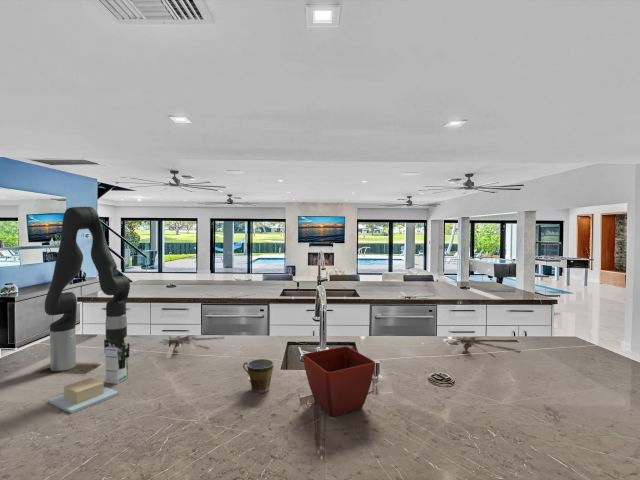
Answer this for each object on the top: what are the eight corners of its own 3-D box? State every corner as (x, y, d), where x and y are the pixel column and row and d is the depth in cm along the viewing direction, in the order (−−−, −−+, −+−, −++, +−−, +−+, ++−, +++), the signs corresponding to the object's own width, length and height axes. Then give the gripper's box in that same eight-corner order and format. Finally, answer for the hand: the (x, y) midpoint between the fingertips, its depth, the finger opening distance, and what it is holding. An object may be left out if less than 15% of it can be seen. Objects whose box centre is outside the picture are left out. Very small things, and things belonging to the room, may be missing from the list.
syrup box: (118, 384, 142) (117, 347, 142) (105, 382, 143) (104, 346, 143) (128, 378, 148) (128, 343, 148) (116, 377, 149) (115, 342, 149)
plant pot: (326, 425, 113) (327, 372, 112) (301, 399, 130) (301, 353, 129) (376, 411, 122) (376, 362, 121) (346, 389, 139) (346, 345, 138)
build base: (48, 402, 127) (47, 388, 127) (95, 385, 141) (94, 372, 141) (71, 413, 119) (71, 398, 119) (118, 394, 133) (118, 381, 133)
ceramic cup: (278, 386, 141) (278, 361, 140) (264, 397, 131) (263, 370, 131) (251, 380, 146) (250, 356, 146) (235, 390, 137) (235, 364, 137)
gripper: (96, 325, 145) (97, 366, 146) (117, 330, 138) (118, 373, 139) (115, 321, 152) (115, 360, 152) (135, 326, 145) (136, 366, 145)
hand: (116, 366), depth 146 cm, fingers closed on syrup box, 6 cm apart
